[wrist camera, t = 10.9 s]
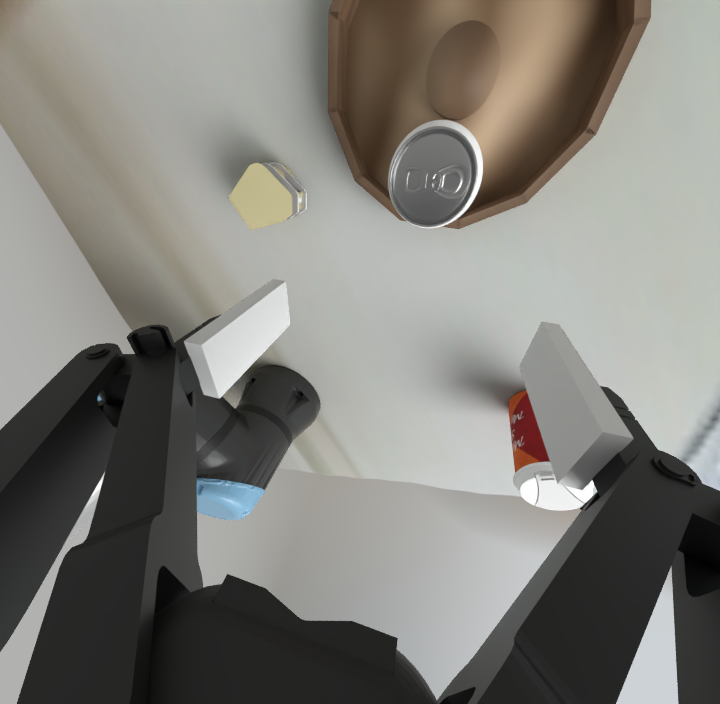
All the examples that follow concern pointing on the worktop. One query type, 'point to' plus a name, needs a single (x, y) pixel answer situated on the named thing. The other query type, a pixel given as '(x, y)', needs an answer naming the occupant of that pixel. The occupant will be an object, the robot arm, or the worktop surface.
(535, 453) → the paper cup
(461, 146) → the can
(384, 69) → the tray
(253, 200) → the yellow layered block
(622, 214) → the worktop surface
